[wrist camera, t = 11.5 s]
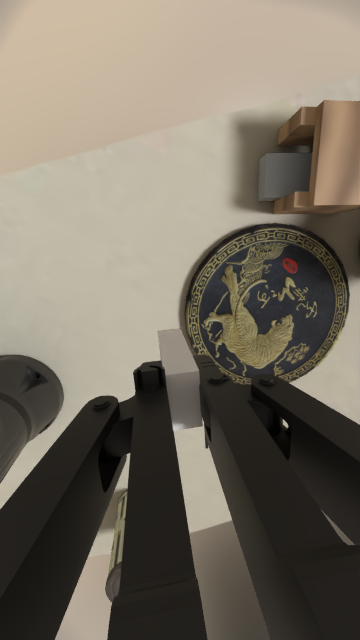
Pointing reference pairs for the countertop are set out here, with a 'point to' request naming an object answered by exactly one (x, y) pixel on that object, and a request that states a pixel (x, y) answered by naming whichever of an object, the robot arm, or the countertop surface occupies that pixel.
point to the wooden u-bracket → (325, 158)
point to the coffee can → (117, 551)
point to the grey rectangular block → (283, 175)
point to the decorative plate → (268, 303)
